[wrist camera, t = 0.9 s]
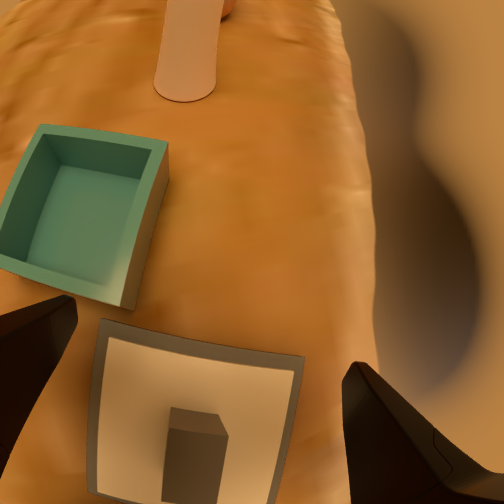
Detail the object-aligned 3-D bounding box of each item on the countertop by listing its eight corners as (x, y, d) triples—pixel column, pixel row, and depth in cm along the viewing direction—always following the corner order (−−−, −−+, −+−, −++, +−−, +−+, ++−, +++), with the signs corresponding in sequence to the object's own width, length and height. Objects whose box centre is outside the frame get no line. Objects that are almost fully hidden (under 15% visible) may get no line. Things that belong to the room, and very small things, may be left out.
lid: (260, 508, 15) (280, 542, 11) (99, 487, 13) (84, 520, 9) (289, 369, 19) (321, 380, 14) (112, 336, 17) (90, 339, 12)
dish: (134, 311, 18) (119, 306, 14) (18, 275, 16) (-17, 261, 12) (169, 179, 21) (168, 141, 16) (59, 159, 19) (40, 123, 15)
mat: (267, 510, 16) (270, 516, 15) (90, 486, 14) (87, 492, 13) (299, 355, 20) (305, 357, 19) (104, 318, 18) (100, 317, 17)
